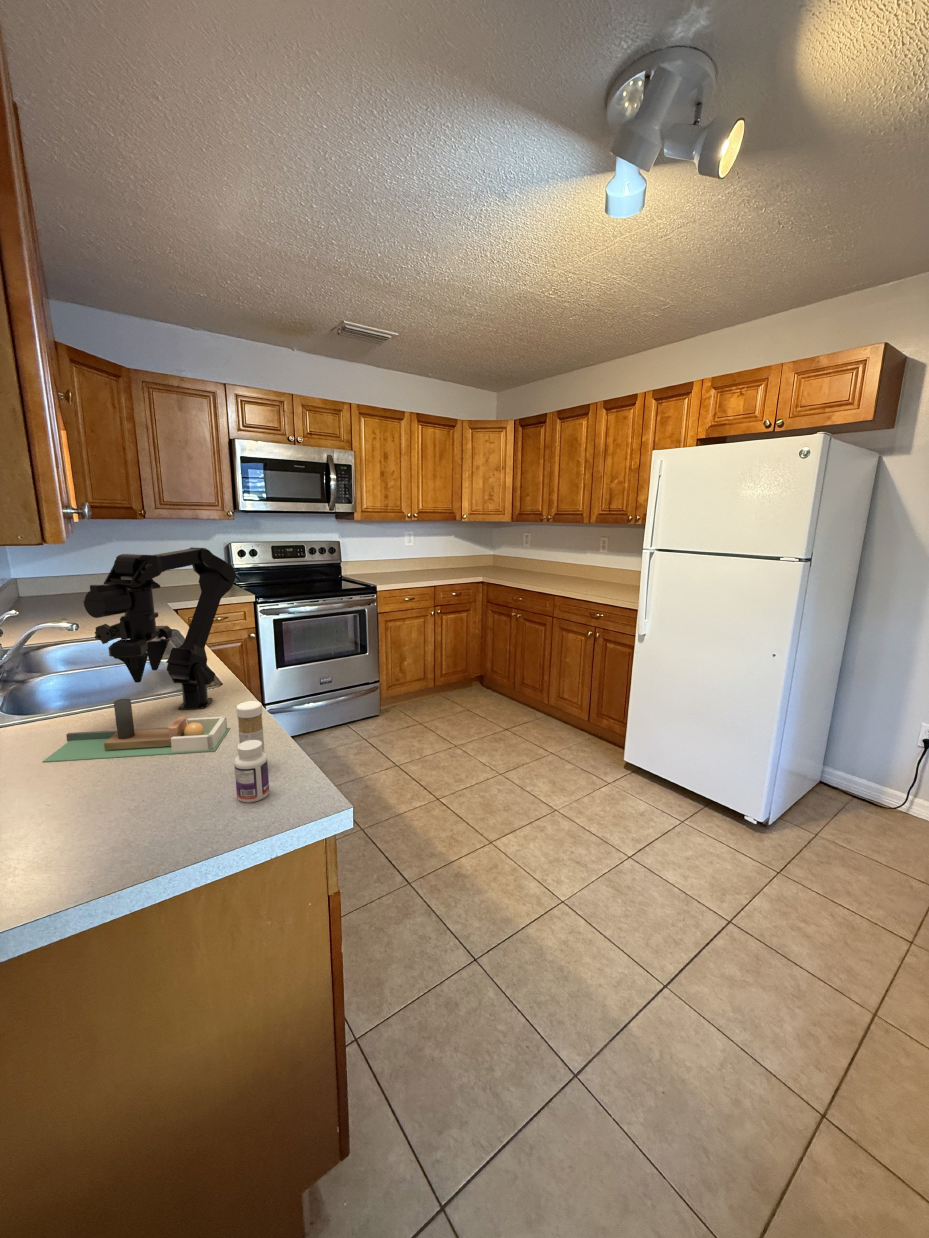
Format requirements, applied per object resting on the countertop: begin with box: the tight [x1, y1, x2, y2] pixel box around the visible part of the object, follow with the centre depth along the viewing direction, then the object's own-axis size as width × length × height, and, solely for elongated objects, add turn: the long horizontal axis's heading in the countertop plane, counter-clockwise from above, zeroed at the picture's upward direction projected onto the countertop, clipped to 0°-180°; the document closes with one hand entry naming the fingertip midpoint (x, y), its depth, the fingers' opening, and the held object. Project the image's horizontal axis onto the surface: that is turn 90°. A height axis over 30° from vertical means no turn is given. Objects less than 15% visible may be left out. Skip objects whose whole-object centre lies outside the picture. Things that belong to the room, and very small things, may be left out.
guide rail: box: [65, 726, 170, 742], centre depth 111 cm, size 1×24×2 cm, turn 101°
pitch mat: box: [41, 727, 231, 763], centre depth 108 cm, size 12×32×1 cm, turn 101°
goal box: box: [171, 716, 228, 752], centre depth 110 cm, size 11×8×3 cm
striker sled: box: [104, 698, 188, 750], centre depth 107 cm, size 6×14×10 cm, turn 101°
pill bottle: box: [233, 740, 270, 803], centre depth 88 cm, size 5×5×10 cm
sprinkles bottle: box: [236, 700, 265, 753], centre depth 97 cm, size 5×5×14 cm
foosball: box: [184, 722, 204, 736], centre depth 110 cm, size 4×4×4 cm
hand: (146, 676), depth 116 cm, fingers open, 9 cm apart
